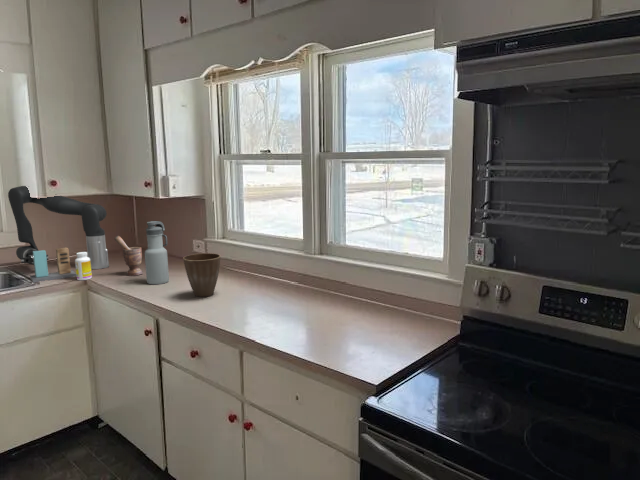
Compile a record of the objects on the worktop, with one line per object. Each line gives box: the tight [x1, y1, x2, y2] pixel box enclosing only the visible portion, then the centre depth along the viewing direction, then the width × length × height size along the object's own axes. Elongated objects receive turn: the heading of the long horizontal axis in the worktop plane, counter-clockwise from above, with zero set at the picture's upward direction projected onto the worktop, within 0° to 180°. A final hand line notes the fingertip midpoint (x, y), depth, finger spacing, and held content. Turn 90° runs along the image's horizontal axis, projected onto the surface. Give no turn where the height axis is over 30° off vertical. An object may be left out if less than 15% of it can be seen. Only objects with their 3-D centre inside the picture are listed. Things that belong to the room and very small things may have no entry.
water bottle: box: [144, 220, 170, 286], centre depth 233 cm, size 10×10×28 cm
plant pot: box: [182, 252, 221, 298], centre depth 210 cm, size 15×15×16 cm
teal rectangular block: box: [33, 249, 49, 277], centre depth 245 cm, size 5×4×12 cm
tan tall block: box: [55, 247, 72, 274], centre depth 251 cm, size 5×4×12 cm
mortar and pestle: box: [114, 235, 144, 277], centre depth 249 cm, size 12×9×20 cm
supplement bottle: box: [74, 251, 93, 281], centre depth 244 cm, size 7×7×13 cm
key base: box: [29, 269, 77, 283], centre depth 249 cm, size 19×10×2 cm, turn 126°
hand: (37, 261), depth 253 cm, fingers closed
